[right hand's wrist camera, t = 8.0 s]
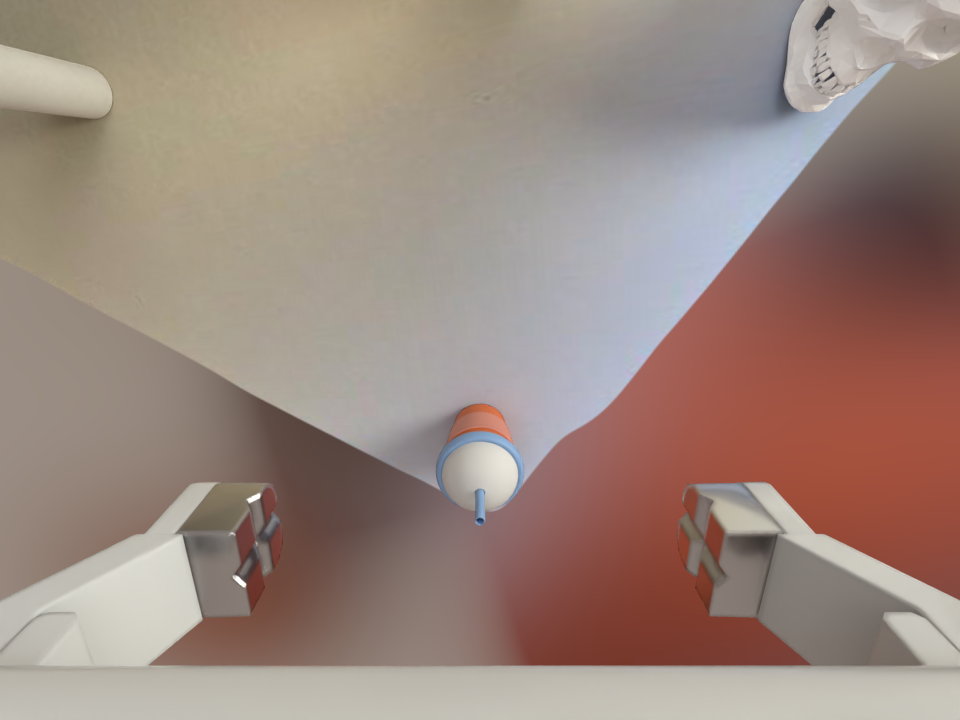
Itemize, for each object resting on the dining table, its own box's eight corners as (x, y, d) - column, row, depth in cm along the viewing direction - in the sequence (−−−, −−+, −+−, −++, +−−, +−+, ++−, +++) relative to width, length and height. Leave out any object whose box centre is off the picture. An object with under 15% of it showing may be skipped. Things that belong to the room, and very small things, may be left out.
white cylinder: (121, 88, 51) (-82, 46, 32) (100, 129, 52) (-107, 111, 34) (75, 53, 50) (-161, -10, 31) (55, 96, 51) (-184, 58, 33)
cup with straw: (436, 451, 65) (420, 553, 48) (450, 384, 62) (439, 468, 45) (507, 465, 65) (517, 570, 48) (525, 400, 62) (542, 488, 45)
